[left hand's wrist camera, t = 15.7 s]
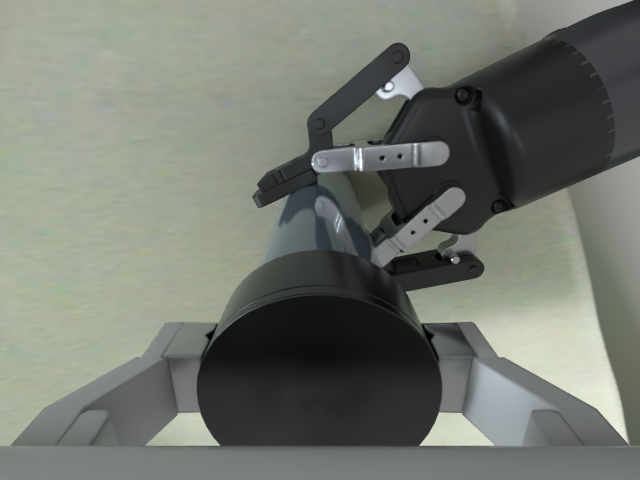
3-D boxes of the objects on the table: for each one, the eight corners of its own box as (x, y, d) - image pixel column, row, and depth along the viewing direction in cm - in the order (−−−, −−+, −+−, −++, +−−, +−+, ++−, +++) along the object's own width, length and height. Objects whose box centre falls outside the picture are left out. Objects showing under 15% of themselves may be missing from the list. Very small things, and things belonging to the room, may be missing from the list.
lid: (436, 260, 10) (471, 307, 8) (397, 419, 12) (415, 493, 10) (223, 238, 10) (193, 280, 7) (221, 404, 12) (196, 476, 9)
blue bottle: (362, 212, 28) (441, 422, 10) (303, 235, 28) (272, 472, 10) (338, 151, 26) (380, 266, 8) (276, 177, 27) (183, 338, 9)
